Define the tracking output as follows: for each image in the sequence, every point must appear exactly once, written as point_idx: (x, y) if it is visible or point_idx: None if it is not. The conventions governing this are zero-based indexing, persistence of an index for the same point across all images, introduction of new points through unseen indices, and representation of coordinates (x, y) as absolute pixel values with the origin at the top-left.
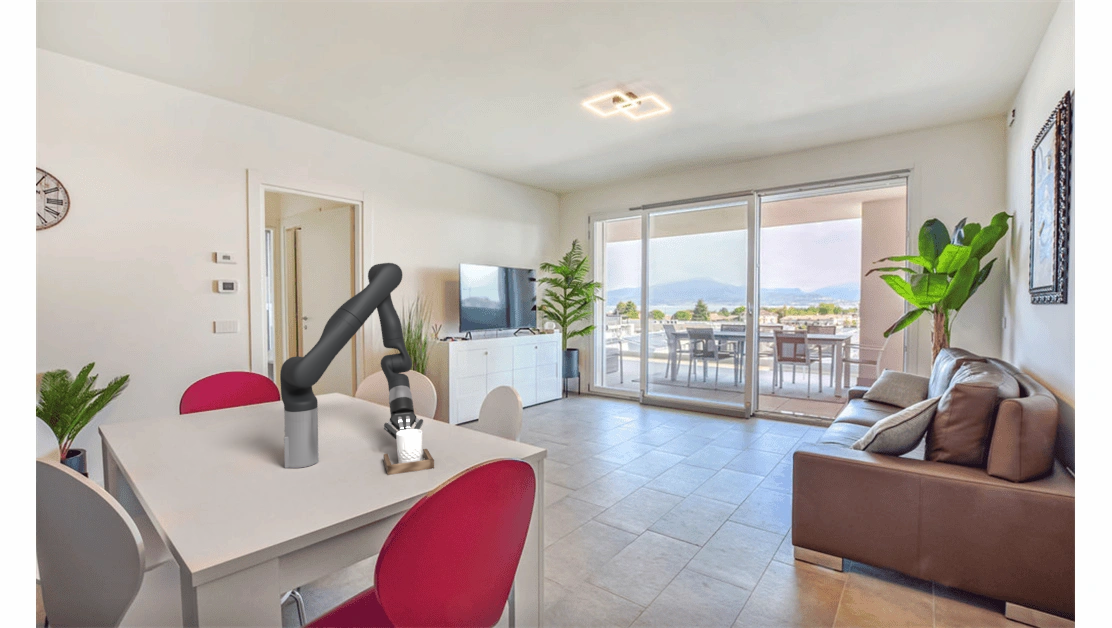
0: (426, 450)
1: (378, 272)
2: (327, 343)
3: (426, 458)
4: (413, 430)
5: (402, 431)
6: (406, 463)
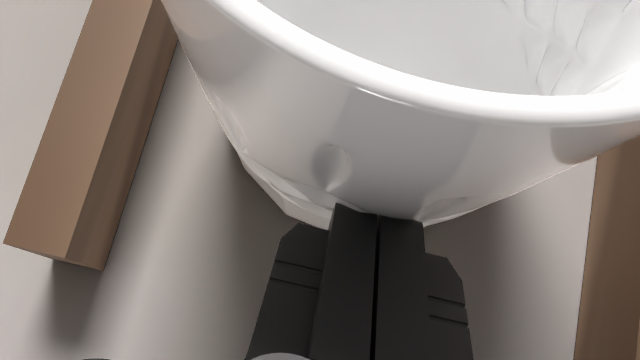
0: (60, 157)
1: None
2: None
3: None
4: (237, 7)
5: (630, 96)
6: None
